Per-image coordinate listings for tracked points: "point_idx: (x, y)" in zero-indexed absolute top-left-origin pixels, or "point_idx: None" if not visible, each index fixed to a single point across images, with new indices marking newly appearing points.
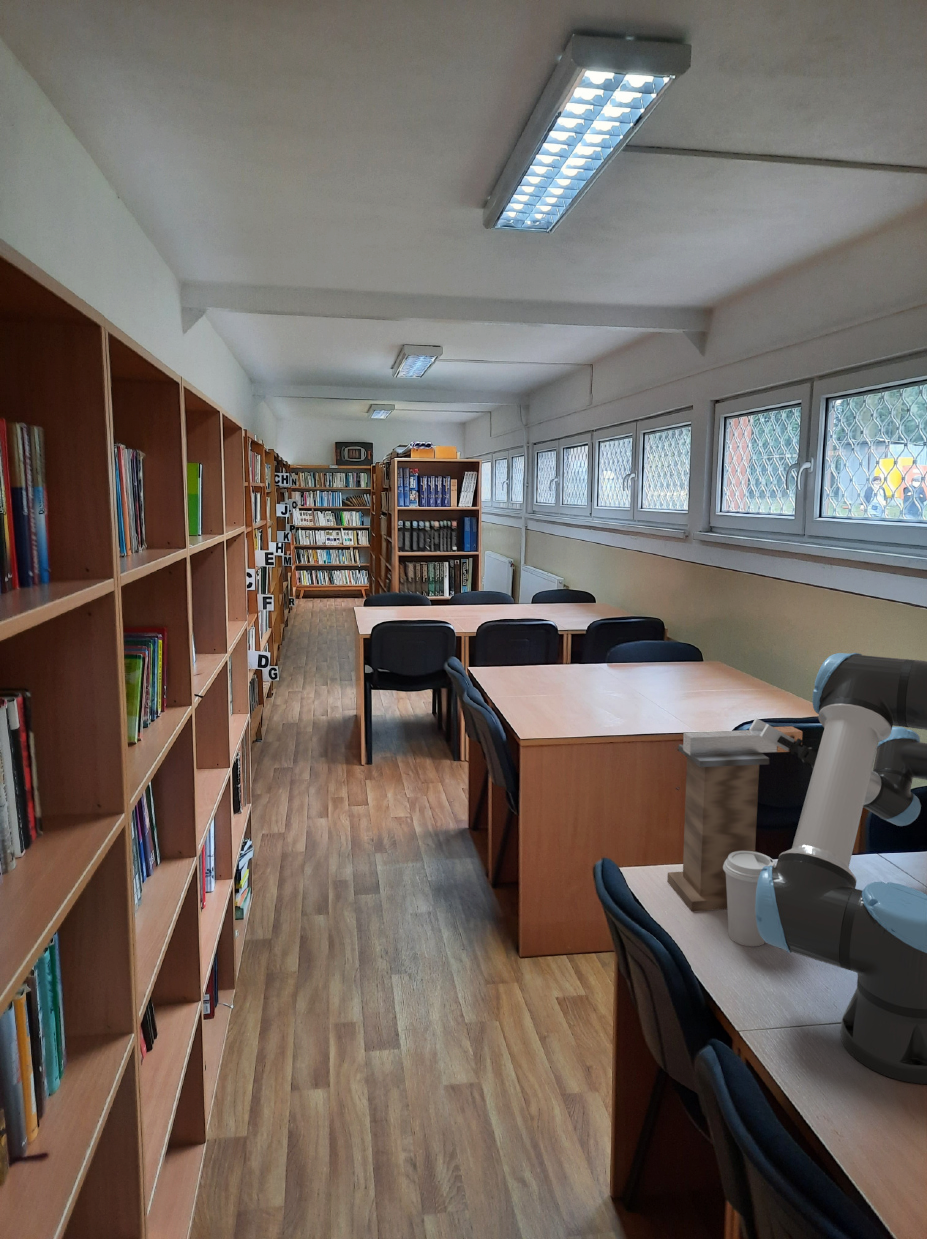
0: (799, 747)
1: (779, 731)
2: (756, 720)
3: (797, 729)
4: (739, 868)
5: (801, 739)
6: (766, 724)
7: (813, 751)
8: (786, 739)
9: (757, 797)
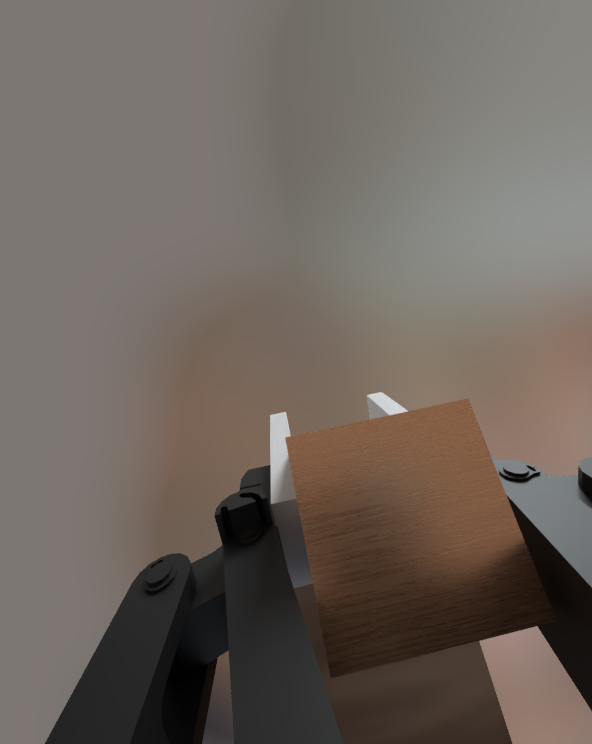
0: (204, 566)
1: (271, 442)
2: (368, 403)
3: (361, 422)
4: None
5: (301, 519)
6: (384, 414)
7: (89, 670)
8: (240, 486)
9: None
